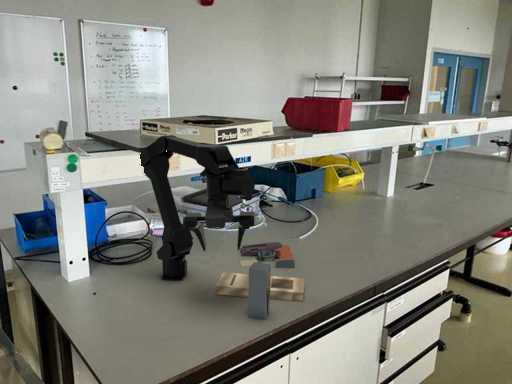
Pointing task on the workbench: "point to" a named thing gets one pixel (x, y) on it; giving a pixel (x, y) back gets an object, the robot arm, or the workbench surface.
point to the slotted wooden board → (240, 286)
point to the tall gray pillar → (259, 290)
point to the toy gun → (268, 254)
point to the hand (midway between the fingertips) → (221, 250)
